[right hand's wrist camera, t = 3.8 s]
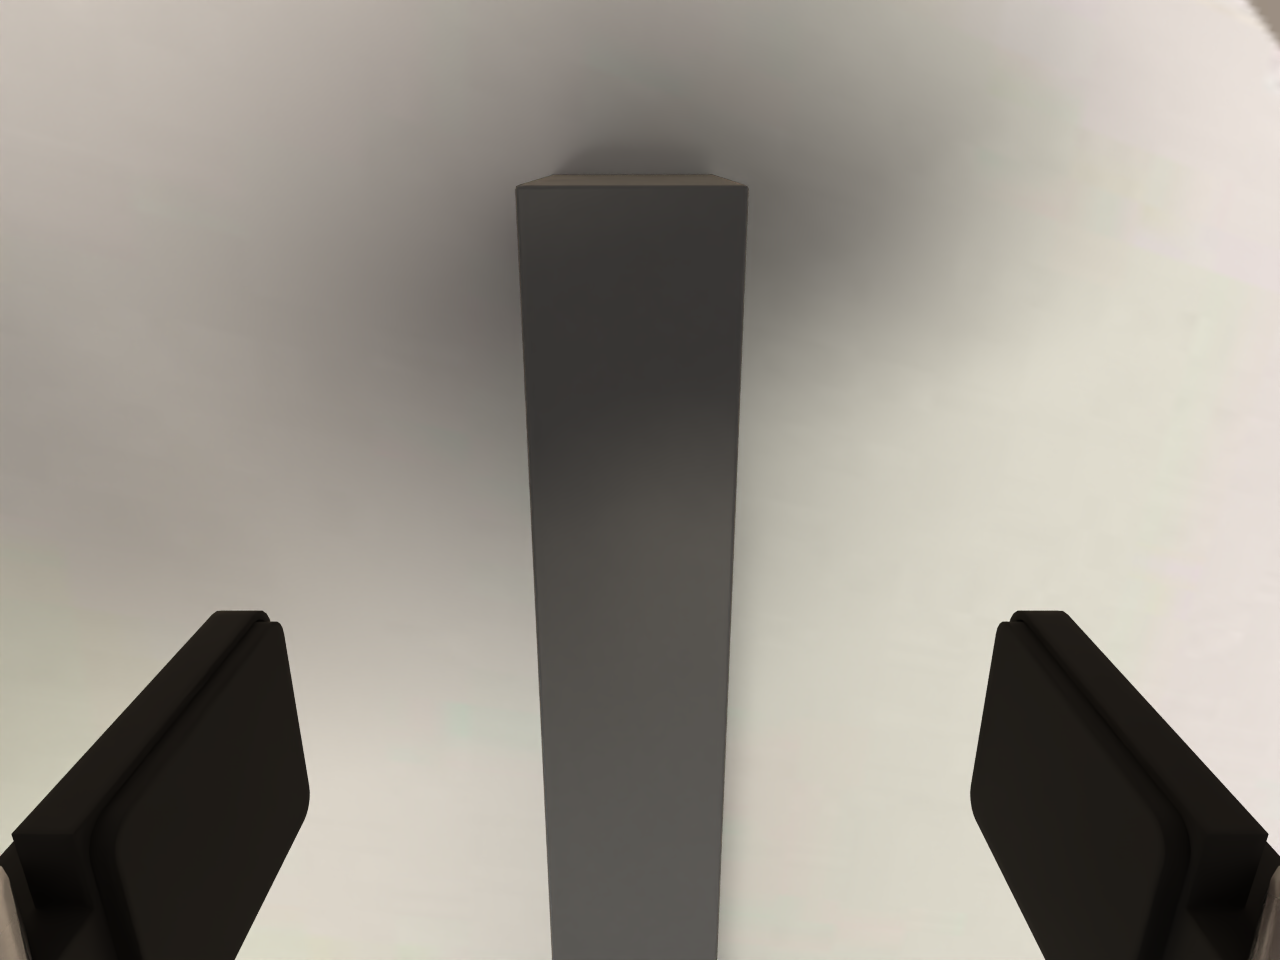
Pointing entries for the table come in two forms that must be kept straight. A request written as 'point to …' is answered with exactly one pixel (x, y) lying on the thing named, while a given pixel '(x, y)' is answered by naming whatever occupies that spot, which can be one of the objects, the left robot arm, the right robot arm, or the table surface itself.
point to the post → (633, 545)
